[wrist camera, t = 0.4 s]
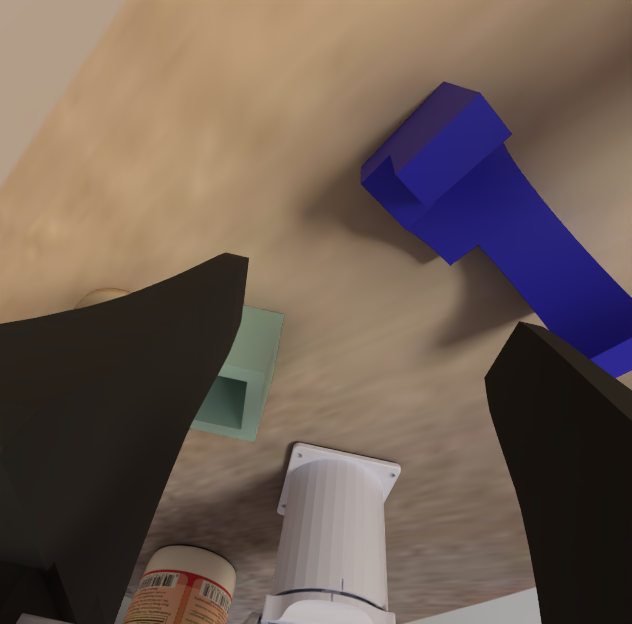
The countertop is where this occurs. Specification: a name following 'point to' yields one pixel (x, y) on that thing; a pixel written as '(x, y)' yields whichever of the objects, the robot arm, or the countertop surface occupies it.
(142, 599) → the fruit juice
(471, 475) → the countertop surface
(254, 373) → the green hollow cube
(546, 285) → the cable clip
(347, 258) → the countertop surface
